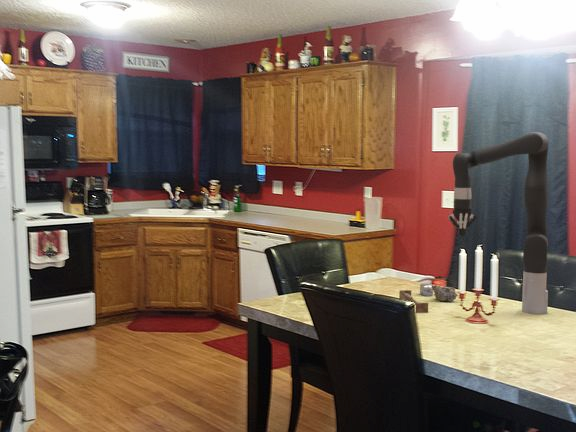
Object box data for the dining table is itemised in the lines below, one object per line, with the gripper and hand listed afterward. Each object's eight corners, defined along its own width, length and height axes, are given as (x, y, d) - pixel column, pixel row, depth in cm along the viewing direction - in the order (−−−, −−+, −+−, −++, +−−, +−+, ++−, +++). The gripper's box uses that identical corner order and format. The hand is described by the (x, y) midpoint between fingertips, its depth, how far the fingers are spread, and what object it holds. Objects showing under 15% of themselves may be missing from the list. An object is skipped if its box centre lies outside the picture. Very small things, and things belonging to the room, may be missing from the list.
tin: (427, 293, 317) (427, 283, 316) (435, 296, 311) (435, 285, 311) (417, 294, 314) (417, 284, 314) (424, 297, 309) (425, 286, 308)
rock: (431, 283, 300) (433, 293, 307) (430, 295, 296) (432, 305, 304) (457, 284, 296) (458, 294, 304) (456, 296, 293) (458, 306, 300)
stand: (410, 298, 305) (410, 288, 304) (428, 312, 278) (428, 301, 277) (399, 299, 304) (399, 289, 304) (415, 313, 277) (416, 302, 277)
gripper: (473, 197, 302) (472, 235, 303) (445, 197, 301) (444, 235, 302) (480, 198, 294) (479, 237, 296) (450, 198, 293) (449, 237, 295)
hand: (461, 236), depth 299 cm, fingers closed
